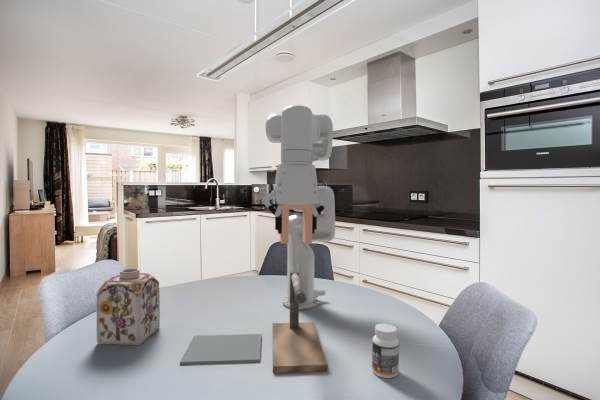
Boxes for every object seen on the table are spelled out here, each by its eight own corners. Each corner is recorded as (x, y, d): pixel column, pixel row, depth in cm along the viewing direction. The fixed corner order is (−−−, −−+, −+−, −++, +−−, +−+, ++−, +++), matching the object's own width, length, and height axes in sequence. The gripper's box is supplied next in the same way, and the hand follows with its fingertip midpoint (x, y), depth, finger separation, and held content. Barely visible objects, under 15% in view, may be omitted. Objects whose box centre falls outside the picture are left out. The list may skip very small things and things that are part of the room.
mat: (261, 336, 92) (261, 333, 92) (259, 362, 78) (259, 359, 78) (194, 337, 90) (194, 335, 90) (179, 364, 76) (179, 362, 76)
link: (308, 240, 83) (309, 200, 83) (311, 243, 79) (312, 201, 79) (280, 240, 82) (280, 200, 82) (281, 243, 78) (282, 200, 78)
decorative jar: (121, 326, 97) (121, 264, 97) (160, 327, 97) (160, 265, 96) (94, 345, 85) (94, 275, 85) (139, 346, 85) (139, 275, 84)
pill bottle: (368, 365, 76) (369, 322, 76) (393, 365, 77) (393, 322, 77) (376, 379, 71) (377, 333, 70) (402, 378, 71) (403, 332, 71)
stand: (313, 327, 98) (314, 268, 97) (327, 371, 74) (328, 293, 73) (272, 328, 97) (273, 268, 96) (272, 373, 73) (273, 294, 72)
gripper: (328, 161, 85) (327, 230, 86) (259, 159, 83) (259, 231, 83) (335, 158, 78) (334, 234, 78) (260, 156, 75) (260, 235, 76)
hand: (295, 232), depth 81 cm, fingers closed on link, 7 cm apart
